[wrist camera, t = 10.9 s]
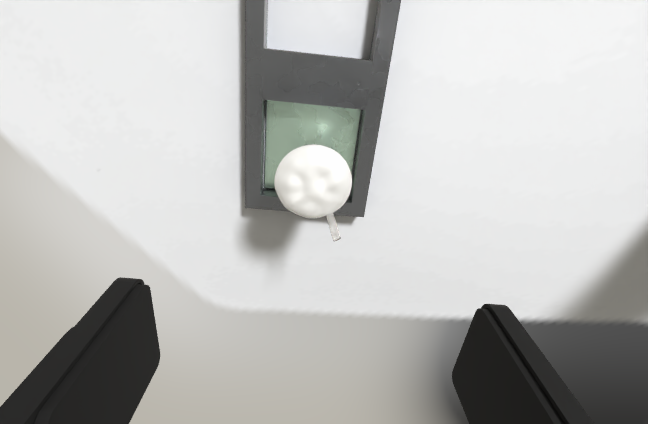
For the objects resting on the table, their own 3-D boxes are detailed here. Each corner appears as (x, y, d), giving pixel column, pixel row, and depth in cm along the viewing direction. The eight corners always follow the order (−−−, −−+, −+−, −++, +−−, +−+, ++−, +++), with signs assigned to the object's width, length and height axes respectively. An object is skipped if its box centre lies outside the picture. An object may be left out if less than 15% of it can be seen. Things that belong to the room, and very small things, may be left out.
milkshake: (305, 190, 29) (301, 255, 20) (275, 134, 27) (255, 177, 18) (354, 168, 28) (373, 225, 19) (327, 108, 26) (334, 140, 17)
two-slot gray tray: (411, -91, 21) (418, -101, 19) (361, 208, 30) (363, 217, 28) (250, -114, 20) (245, -127, 19) (248, 199, 29) (245, 207, 28)
